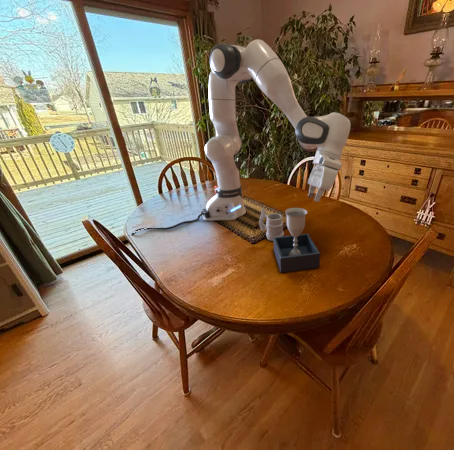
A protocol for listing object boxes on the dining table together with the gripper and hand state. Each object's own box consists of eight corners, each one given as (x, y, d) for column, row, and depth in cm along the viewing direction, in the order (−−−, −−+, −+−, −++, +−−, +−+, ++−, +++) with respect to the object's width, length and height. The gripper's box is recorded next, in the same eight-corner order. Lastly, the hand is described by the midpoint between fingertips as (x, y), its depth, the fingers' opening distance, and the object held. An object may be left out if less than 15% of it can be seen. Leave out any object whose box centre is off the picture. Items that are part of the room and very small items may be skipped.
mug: (277, 243, 96) (276, 217, 91) (254, 235, 103) (253, 210, 97) (287, 235, 102) (287, 210, 96) (265, 228, 108) (264, 204, 102)
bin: (280, 272, 80) (280, 258, 78) (273, 250, 92) (273, 237, 89) (319, 267, 82) (320, 253, 79) (307, 246, 94) (308, 233, 91)
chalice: (306, 252, 88) (308, 208, 80) (303, 263, 83) (304, 217, 74) (287, 249, 91) (287, 206, 82) (283, 259, 85) (282, 215, 77)
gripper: (310, 160, 94) (299, 193, 97) (325, 159, 74) (311, 201, 77) (325, 164, 95) (314, 197, 98) (344, 165, 75) (329, 206, 78)
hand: (312, 199), depth 87 cm, fingers open, 8 cm apart
